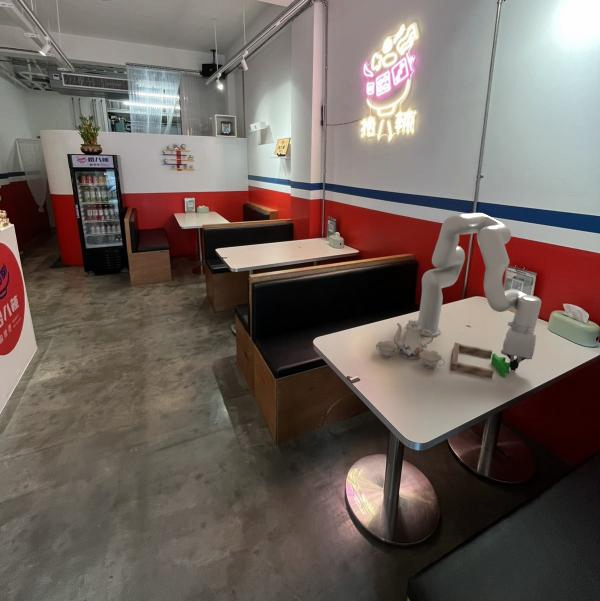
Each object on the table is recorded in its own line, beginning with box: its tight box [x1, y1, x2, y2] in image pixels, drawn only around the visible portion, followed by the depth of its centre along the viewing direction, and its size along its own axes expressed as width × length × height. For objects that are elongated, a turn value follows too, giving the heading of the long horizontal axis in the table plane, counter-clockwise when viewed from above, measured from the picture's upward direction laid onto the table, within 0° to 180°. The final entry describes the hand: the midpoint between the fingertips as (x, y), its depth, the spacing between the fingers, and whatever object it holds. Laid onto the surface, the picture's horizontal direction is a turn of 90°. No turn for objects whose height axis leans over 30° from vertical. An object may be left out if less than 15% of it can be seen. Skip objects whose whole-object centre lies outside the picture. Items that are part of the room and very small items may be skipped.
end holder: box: [450, 342, 495, 379], centre depth 152 cm, size 15×20×3 cm
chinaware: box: [375, 319, 446, 369], centre depth 153 cm, size 28×17×17 cm, turn 70°
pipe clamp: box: [491, 353, 511, 379], centre depth 147 cm, size 11×4×5 cm, turn 173°
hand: (512, 369), depth 146 cm, fingers closed
